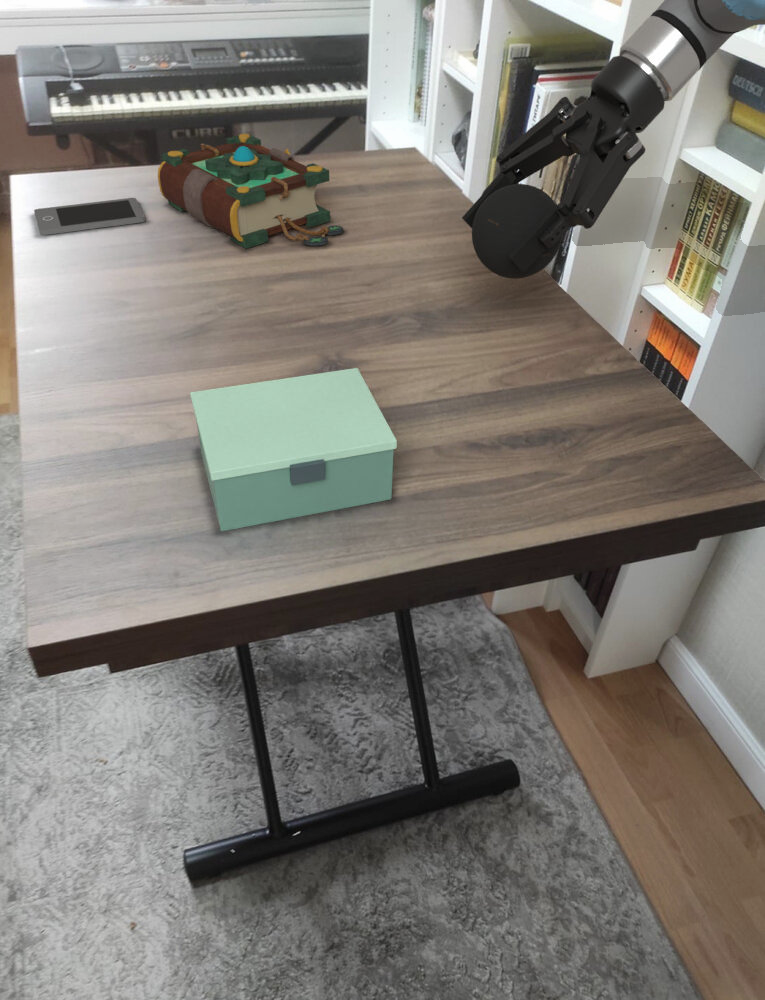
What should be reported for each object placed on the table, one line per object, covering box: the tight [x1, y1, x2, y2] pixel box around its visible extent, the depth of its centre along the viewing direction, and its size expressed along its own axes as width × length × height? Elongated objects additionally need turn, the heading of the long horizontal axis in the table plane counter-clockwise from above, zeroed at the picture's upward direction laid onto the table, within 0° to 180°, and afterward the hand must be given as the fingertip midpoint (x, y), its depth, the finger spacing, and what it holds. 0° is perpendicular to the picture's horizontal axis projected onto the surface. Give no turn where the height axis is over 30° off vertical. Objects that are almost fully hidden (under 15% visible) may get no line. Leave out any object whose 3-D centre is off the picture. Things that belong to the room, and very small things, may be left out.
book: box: [157, 133, 344, 249], centre depth 123 cm, size 27×21×10 cm
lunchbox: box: [189, 367, 398, 532], centre depth 78 cm, size 16×13×7 cm
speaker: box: [471, 183, 563, 280], centre depth 93 cm, size 10×10×10 cm
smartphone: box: [33, 197, 146, 236], centre depth 124 cm, size 15×8×1 cm, turn 113°
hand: (491, 244), depth 92 cm, fingers closed on speaker, 10 cm apart
